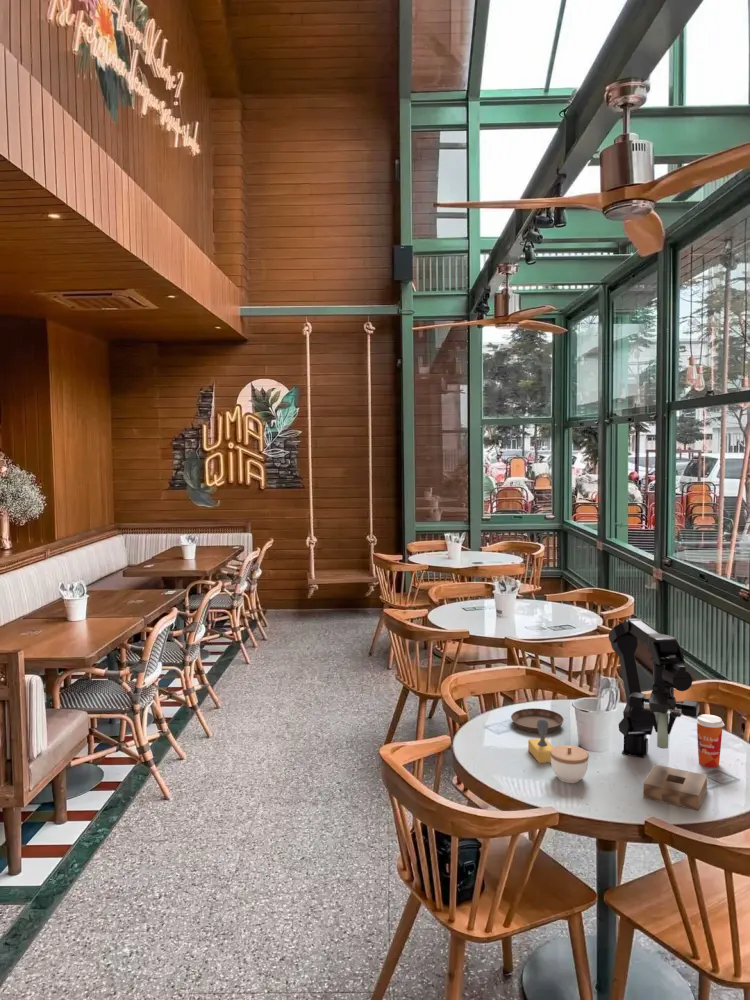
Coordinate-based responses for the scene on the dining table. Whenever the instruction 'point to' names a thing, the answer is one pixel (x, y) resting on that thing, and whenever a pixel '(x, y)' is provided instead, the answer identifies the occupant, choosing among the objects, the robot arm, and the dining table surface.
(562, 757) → the lidded jar
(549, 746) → the rubber stamp
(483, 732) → the dining table surface
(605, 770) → the dining table surface
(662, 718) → the peg
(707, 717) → the paper cup
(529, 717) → the plant saucer
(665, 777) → the hole block
